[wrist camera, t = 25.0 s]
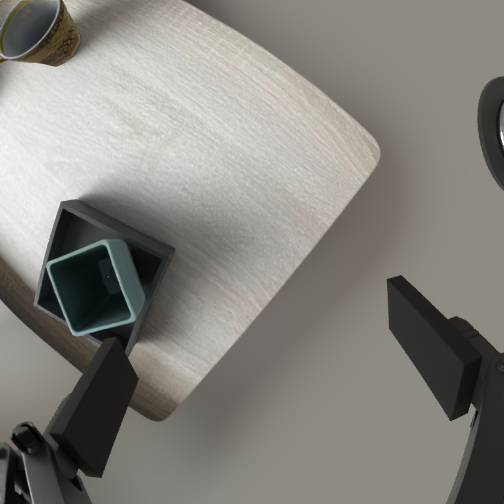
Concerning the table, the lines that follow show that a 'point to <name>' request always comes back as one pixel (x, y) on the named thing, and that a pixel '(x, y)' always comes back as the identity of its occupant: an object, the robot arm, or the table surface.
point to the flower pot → (97, 286)
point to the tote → (146, 262)
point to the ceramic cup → (39, 33)
